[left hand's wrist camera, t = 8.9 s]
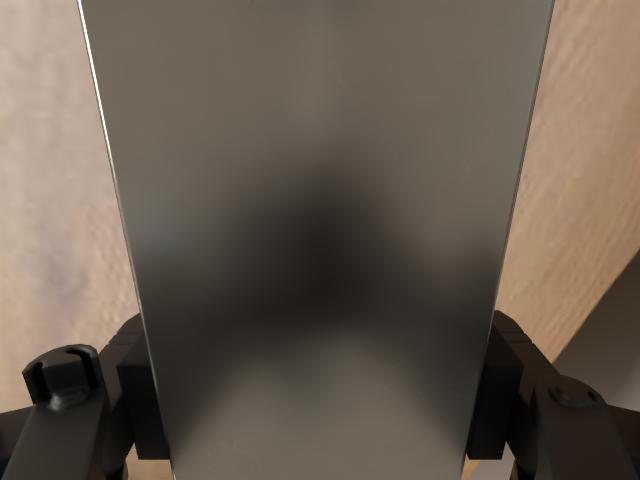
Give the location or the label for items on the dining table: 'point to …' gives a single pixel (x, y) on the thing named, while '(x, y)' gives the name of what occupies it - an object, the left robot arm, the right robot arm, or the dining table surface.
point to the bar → (316, 220)
